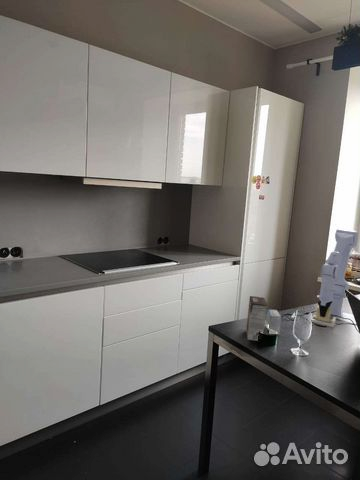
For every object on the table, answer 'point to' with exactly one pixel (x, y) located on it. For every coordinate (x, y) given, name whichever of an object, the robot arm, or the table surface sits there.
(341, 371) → the table surface
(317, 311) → the tan rectangular block
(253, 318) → the coffee box
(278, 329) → the medicine box
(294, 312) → the mat
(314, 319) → the dispenser
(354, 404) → the table surface
